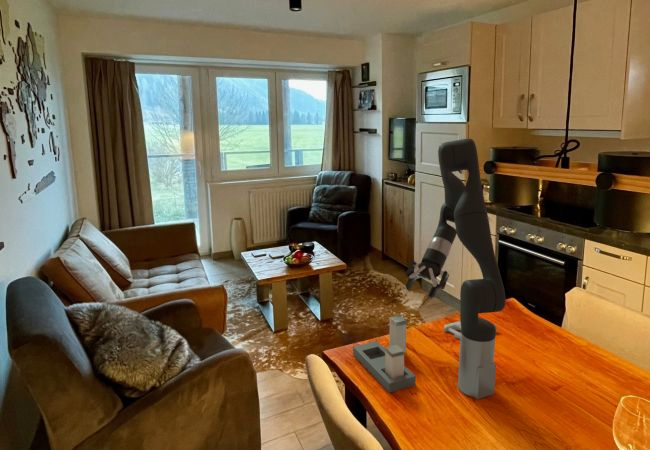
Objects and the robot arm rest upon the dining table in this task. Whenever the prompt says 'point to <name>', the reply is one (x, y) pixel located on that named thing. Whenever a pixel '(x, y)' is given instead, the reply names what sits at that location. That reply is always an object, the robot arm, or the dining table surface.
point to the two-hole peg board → (385, 365)
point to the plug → (398, 332)
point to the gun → (453, 327)
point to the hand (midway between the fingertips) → (418, 293)
